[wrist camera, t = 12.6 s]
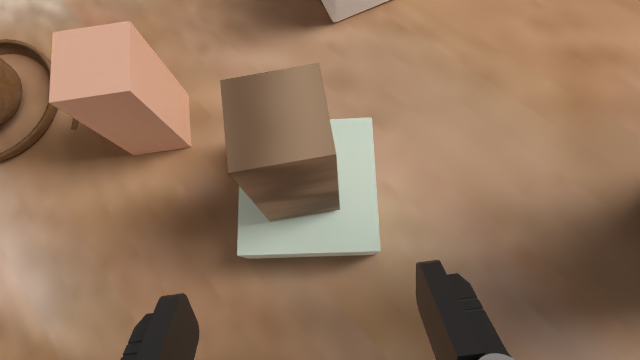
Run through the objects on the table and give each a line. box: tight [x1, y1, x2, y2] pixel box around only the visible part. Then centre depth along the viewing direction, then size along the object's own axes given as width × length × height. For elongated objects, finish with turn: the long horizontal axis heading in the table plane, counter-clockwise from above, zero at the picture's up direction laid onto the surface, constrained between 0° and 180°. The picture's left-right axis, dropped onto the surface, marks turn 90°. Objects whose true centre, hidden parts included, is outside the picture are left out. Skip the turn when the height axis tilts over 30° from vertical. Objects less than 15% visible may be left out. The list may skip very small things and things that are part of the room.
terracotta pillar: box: [49, 21, 191, 155], centre depth 29 cm, size 5×5×10 cm
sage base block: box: [237, 118, 381, 259], centre depth 30 cm, size 10×10×4 cm
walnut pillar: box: [220, 63, 340, 222], centre depth 23 cm, size 5×5×10 cm
